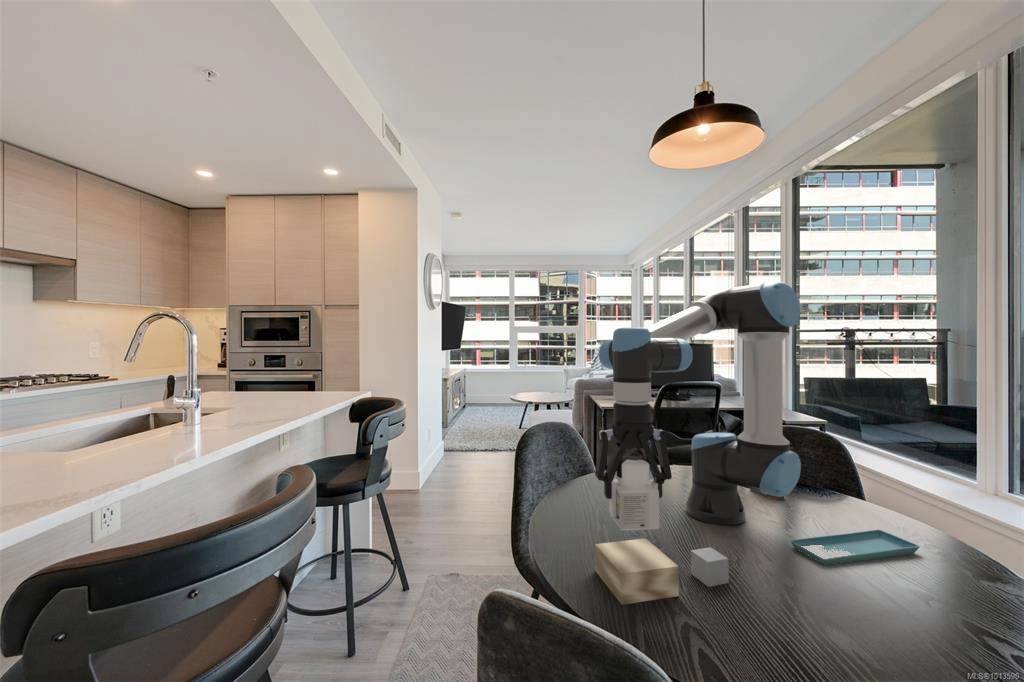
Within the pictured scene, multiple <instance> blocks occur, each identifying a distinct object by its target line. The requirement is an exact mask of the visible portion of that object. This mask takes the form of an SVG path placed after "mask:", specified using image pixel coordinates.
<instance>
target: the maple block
mask: <svg viewBox="0 0 1024 682" xmlns="http://www.w3.org/2000/svg"><path fill="white" fill-rule="evenodd" d="M594 547H595V548H594V549H595V550H594V553H595V555H594V557H595V561H594V565H595V568H594V569H595V572H596V574H597V576H599V577H600V579H601V580H602V582H604V584H605V585H606V587H607V588H608V589H609V590H610V592H611V593H612V594H613V595H614V597H615V598H616V599H617V601H618V602H619V603H620V604H621V605H629V604H637V603H641V602H648V601H655V600H662V599H667V598H668V599H669V598H674V597H675V598H676V597H679V596H680V595H679V593H680V591H679V587H680V584H679V580H680V579H679V578H680V577H679V565H677V563H676V562H674V561H673V560H672V559H671V558H669V557H668V556H667V555H666V554H665V553H663V552H662V551H661V550H660V549H659V548H658V547H656V545H654V544H653V543H652V542H650V541H649V540H648V539H647V538H637V539H636V538H635V539H629V540H628V539H627V540H620V541H611V542H609V541H608V542H601V543H595V544H594Z"/></svg>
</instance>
